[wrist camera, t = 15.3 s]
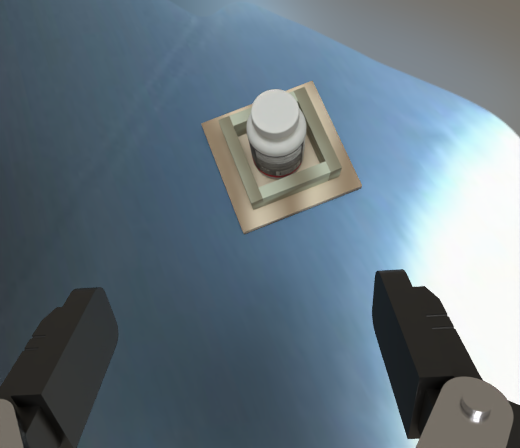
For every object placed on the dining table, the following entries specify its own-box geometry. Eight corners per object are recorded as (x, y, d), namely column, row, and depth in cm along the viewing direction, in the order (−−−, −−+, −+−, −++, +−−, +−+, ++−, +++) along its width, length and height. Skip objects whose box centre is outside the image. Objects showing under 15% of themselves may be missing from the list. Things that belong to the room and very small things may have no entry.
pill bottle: (257, 129, 43) (249, 77, 34) (307, 136, 43) (313, 84, 33) (248, 176, 42) (237, 136, 33) (299, 184, 42) (303, 145, 32)
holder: (244, 234, 42) (240, 227, 38) (202, 127, 45) (195, 111, 41) (360, 188, 42) (367, 177, 39) (311, 84, 45) (314, 65, 42)
